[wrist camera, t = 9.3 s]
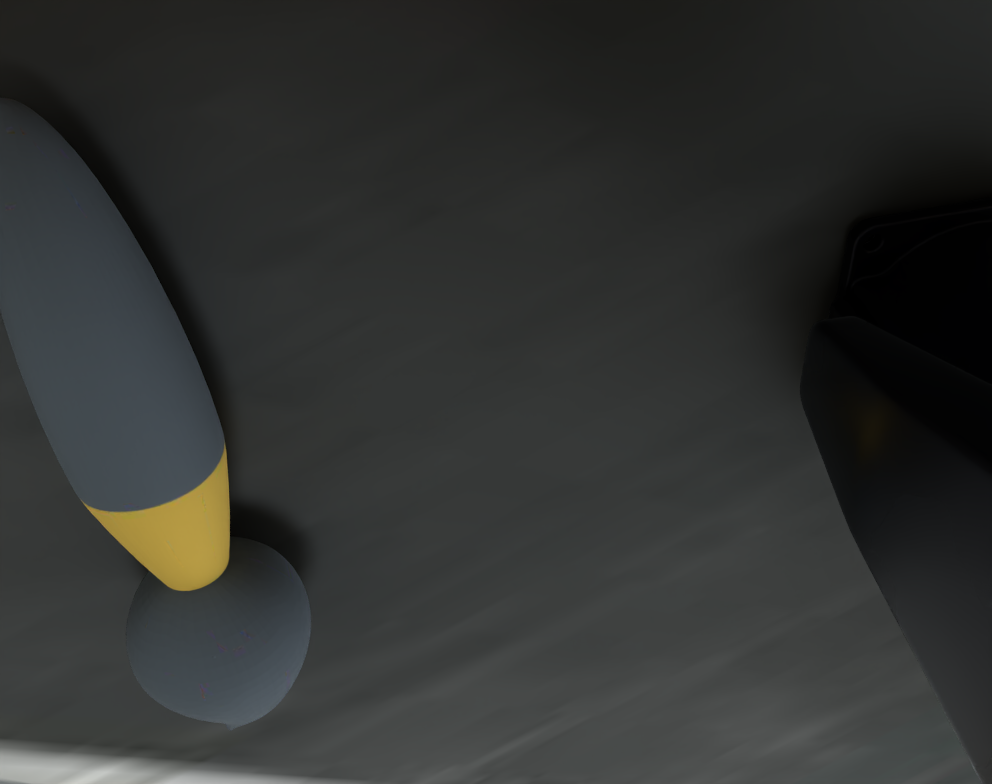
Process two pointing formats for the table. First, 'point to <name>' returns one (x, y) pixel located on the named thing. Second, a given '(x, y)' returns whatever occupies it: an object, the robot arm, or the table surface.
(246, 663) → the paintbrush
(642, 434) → the table surface
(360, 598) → the table surface
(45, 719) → the table surface
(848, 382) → the robot arm
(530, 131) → the table surface
